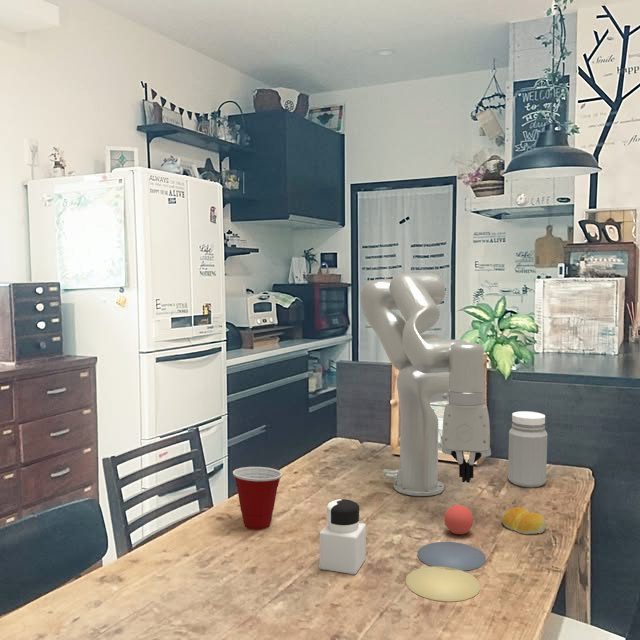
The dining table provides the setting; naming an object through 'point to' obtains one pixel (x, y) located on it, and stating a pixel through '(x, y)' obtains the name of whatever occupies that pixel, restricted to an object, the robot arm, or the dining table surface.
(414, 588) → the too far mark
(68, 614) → the dining table surface
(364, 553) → the medicine bottle
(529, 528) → the bread roll
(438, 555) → the smooth gray rounded object
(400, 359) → the robot arm
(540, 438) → the jar
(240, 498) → the plastic cup
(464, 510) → the ball
